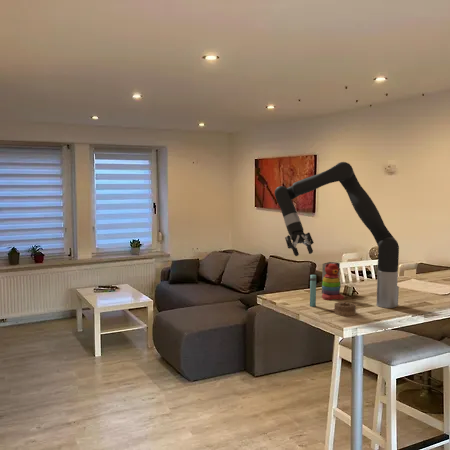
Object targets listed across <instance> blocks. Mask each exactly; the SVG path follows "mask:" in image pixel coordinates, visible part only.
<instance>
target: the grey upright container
mask: <svg viewBox="0 0 450 450" xmlns="http://www.w3.org/2000/svg"><path fill="white" fill-rule="evenodd" d="M335 263H336V264H337V266H338V268H339V272H338V274H337V275H338V276H339V277H340V272H341V271H340V267H341V266H340V264H341V263H340V262H337V261H336V262H335V261H328V262H325V263H322V269H321V270H322V271H321V273H322V276H321V277H322V278H321V283H322V282H323V278H324V276H325V275H326V272H325V267H326V264H335ZM321 294H323V289H322V288H321Z"/></svg>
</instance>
